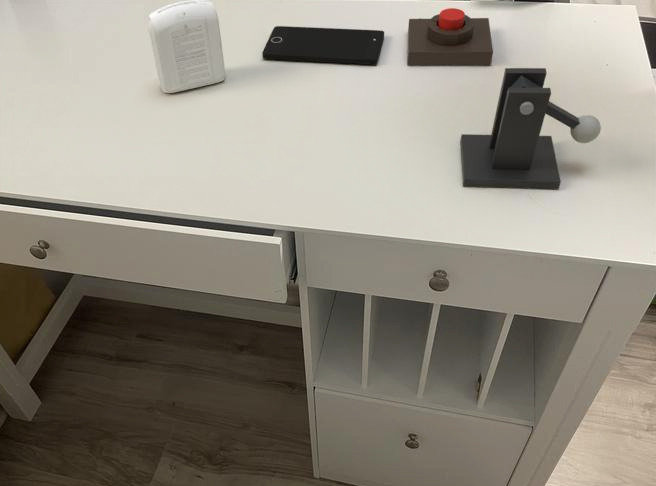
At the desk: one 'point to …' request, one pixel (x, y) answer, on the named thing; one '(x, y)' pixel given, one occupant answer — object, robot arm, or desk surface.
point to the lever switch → (567, 117)
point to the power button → (451, 19)
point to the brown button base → (449, 43)
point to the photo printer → (186, 45)
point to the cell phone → (324, 45)
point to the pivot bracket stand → (513, 140)
